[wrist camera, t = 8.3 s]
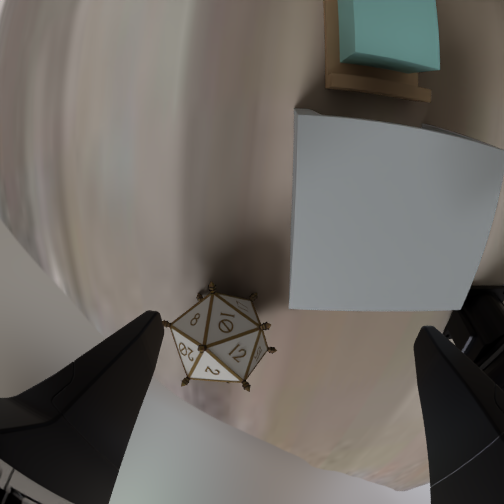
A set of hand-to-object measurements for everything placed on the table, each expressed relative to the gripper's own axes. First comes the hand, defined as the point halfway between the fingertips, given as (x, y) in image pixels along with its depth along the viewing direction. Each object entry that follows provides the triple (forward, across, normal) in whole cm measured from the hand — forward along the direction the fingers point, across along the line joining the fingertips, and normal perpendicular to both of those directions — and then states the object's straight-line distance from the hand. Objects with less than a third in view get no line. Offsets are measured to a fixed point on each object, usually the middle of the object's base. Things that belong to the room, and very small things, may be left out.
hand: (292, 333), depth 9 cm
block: (+12, -5, -12) cm, 17 cm away
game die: (+13, +5, +10) cm, 17 cm away
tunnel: (+13, -5, -2) cm, 14 cm away
